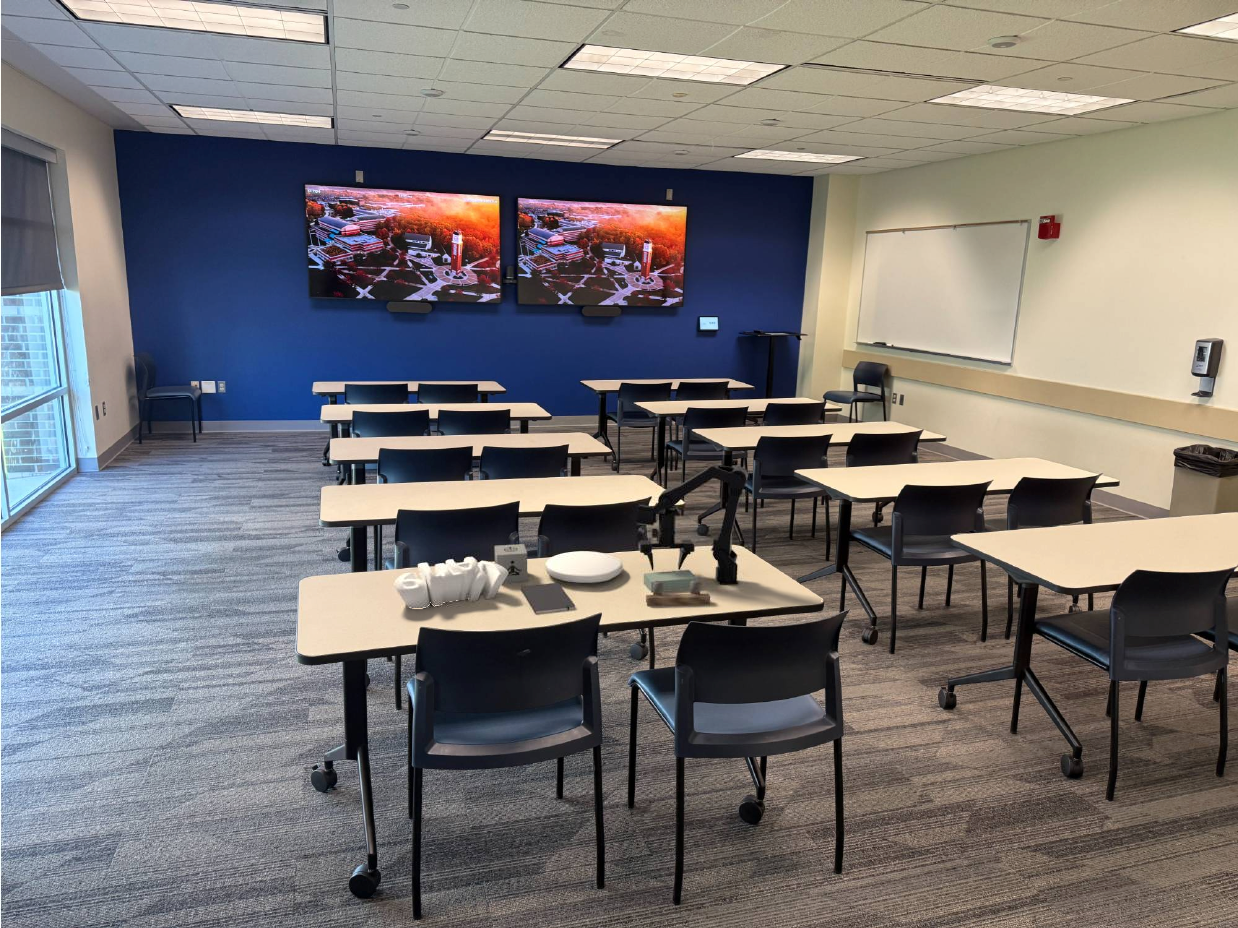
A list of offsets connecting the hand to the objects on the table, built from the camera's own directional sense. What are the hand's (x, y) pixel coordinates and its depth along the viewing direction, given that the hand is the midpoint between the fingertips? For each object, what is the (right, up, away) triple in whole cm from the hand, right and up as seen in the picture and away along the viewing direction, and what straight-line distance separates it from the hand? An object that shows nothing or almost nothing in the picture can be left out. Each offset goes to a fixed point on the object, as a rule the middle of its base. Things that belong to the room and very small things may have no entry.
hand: (665, 569), depth 279 cm
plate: (-28, -2, +1) cm, 28 cm away
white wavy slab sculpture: (-70, -6, -22) cm, 73 cm away
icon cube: (-53, -2, -3) cm, 53 cm away
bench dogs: (+2, -7, -23) cm, 24 cm away
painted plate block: (+1, -5, -9) cm, 10 cm away
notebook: (-39, -7, -22) cm, 45 cm away
